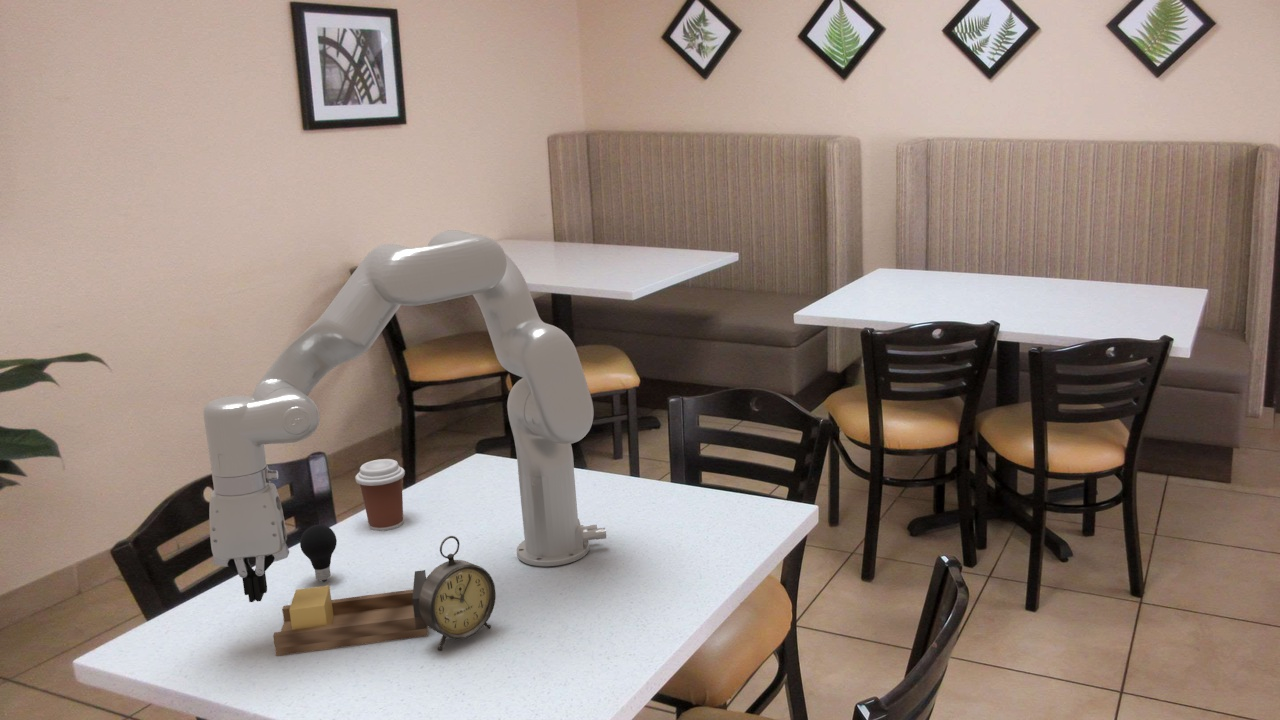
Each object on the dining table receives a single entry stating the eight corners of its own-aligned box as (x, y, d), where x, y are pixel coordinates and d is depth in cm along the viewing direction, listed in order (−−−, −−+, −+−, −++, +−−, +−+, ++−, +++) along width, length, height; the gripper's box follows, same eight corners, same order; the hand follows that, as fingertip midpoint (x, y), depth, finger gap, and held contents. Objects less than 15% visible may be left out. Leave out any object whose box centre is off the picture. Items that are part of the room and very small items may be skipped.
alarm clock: (438, 658, 157) (425, 553, 153) (419, 645, 161) (406, 543, 157) (501, 630, 164) (491, 529, 160) (481, 619, 168) (470, 520, 164)
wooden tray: (429, 606, 173) (425, 570, 172) (427, 635, 163) (423, 597, 162) (286, 624, 170) (280, 588, 168) (276, 656, 160) (270, 617, 159)
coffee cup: (420, 519, 210) (413, 460, 207) (386, 537, 202) (378, 475, 199) (386, 512, 214) (379, 454, 211) (351, 529, 207) (343, 469, 204)
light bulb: (331, 589, 181) (323, 533, 179) (299, 588, 183) (291, 532, 180) (347, 574, 187) (340, 519, 185) (316, 573, 188) (308, 518, 186)
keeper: (333, 615, 169) (329, 585, 168) (328, 636, 162) (324, 605, 161) (300, 619, 168) (295, 589, 167) (293, 640, 162) (289, 610, 161)
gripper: (297, 468, 163) (311, 582, 167) (193, 478, 161) (210, 593, 165) (290, 484, 156) (305, 603, 160) (180, 495, 154) (198, 614, 158)
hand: (256, 597), depth 163 cm, fingers closed
